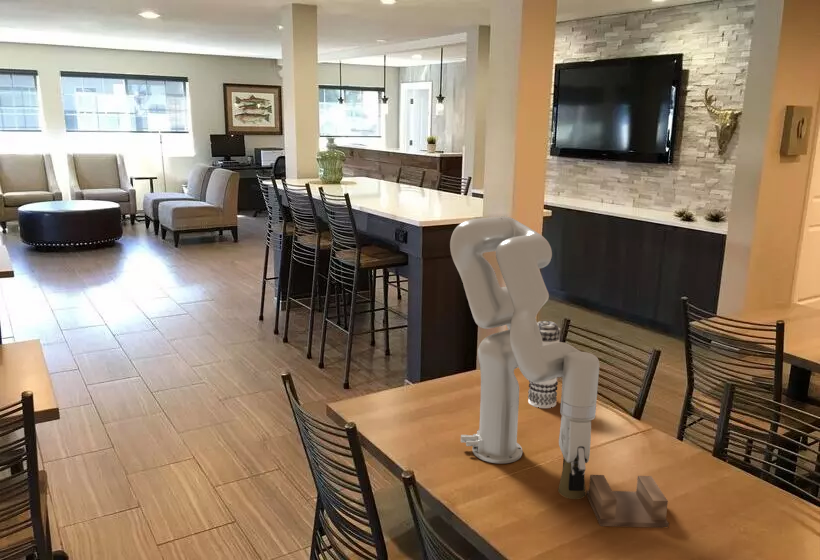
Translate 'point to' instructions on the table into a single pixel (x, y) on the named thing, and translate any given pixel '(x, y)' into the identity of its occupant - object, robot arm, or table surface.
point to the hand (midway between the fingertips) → (572, 481)
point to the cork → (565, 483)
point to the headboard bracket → (628, 503)
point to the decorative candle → (546, 391)
